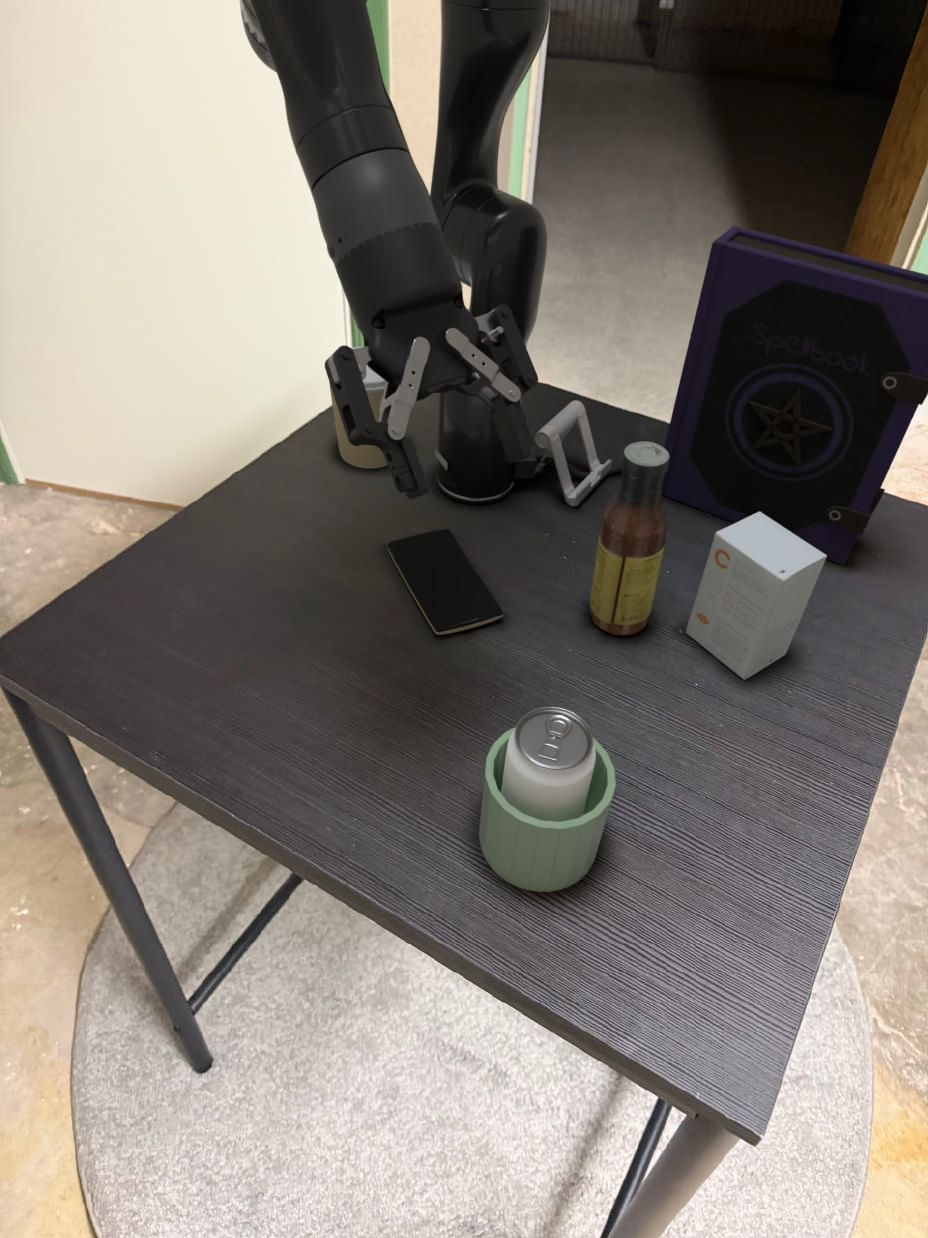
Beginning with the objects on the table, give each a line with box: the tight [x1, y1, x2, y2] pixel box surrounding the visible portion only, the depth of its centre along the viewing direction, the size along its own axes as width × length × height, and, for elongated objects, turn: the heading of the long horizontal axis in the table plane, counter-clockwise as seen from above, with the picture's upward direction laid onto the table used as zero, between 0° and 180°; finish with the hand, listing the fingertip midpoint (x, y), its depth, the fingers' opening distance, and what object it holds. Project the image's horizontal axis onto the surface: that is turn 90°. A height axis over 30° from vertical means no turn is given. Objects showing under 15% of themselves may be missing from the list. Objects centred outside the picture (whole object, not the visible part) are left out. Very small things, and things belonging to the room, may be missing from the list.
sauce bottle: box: [589, 440, 670, 637], centre depth 82 cm, size 7×6×20 cm
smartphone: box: [386, 528, 504, 636], centre depth 91 cm, size 7×1×15 cm
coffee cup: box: [328, 345, 388, 469], centre depth 105 cm, size 9×9×12 cm
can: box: [501, 706, 596, 822], centre depth 66 cm, size 6×6×12 cm
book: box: [662, 225, 928, 566], centre depth 92 cm, size 24×6×30 cm, turn 56°
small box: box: [685, 512, 827, 681], centre depth 83 cm, size 8×6×13 cm
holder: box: [478, 726, 617, 893], centre depth 67 cm, size 10×10×9 cm
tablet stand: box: [533, 399, 613, 508], centre depth 103 cm, size 9×8×8 cm
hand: (471, 477), depth 60 cm, fingers open, 8 cm apart
